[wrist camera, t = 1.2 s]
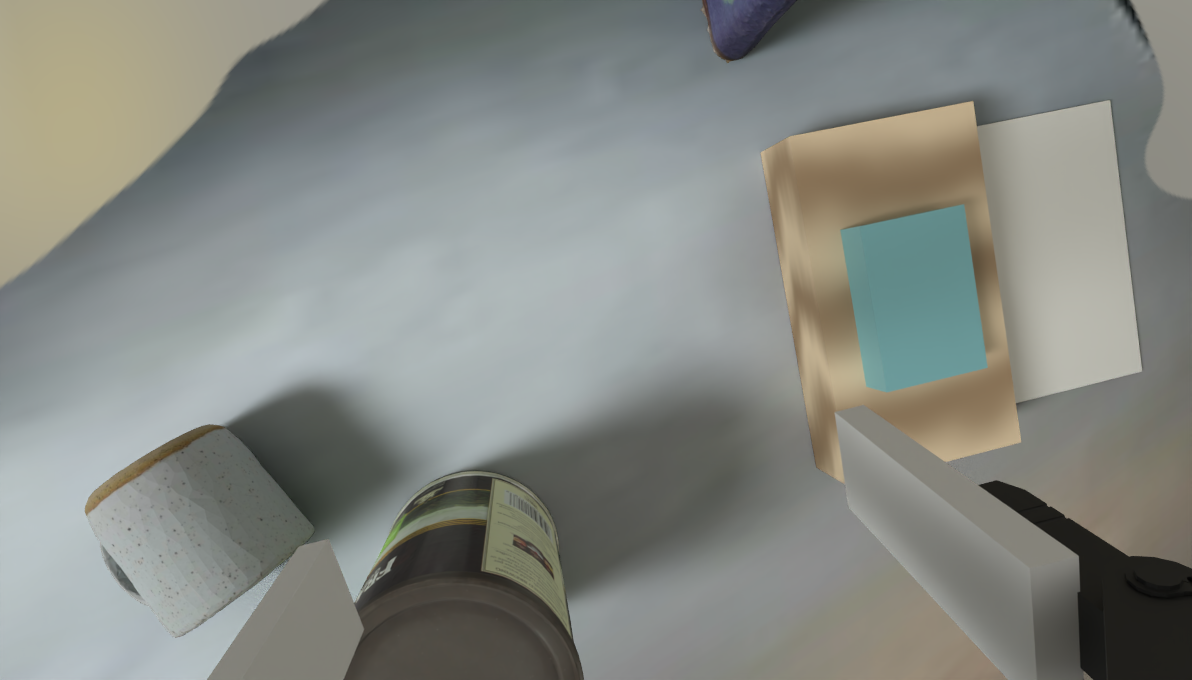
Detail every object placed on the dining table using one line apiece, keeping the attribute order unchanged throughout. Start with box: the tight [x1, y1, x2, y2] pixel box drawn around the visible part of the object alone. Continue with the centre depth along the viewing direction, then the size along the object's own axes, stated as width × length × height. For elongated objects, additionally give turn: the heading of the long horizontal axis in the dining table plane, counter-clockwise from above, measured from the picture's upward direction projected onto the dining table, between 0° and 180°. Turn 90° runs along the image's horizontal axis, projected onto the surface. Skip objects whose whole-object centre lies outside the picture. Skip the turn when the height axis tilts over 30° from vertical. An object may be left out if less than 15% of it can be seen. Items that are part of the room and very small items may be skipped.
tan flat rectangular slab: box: [761, 101, 1021, 484], centre depth 37 cm, size 20×11×4 cm, turn 12°
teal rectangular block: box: [840, 204, 988, 392], centre depth 34 cm, size 9×6×2 cm, turn 12°
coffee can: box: [343, 471, 584, 680], centre depth 31 cm, size 10×10×14 cm
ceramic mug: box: [85, 424, 314, 638], centre depth 32 cm, size 11×8×8 cm
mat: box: [977, 100, 1142, 403], centre depth 41 cm, size 18×12×1 cm, turn 12°
